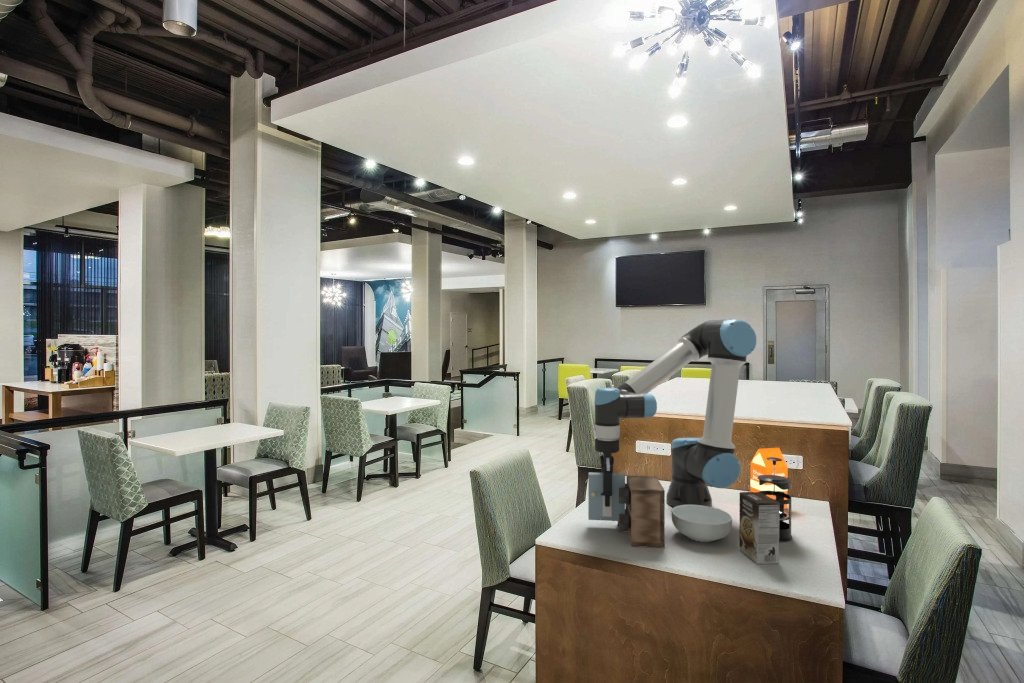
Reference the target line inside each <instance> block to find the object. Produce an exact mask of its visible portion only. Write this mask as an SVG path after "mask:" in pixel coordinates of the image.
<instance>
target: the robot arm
mask: <svg viewBox="0 0 1024 683" xmlns="http://www.w3.org/2000/svg"><path fill="white" fill-rule="evenodd" d="M756 346H757V335H756V332H755V330H754V328H753V327H752V325H751V324H750V323H748V322H747V321H744V320H742V319H736V318H733V319H732V318H728V319H712V320H707V321H704V322H702V323H700V324H698V325H696V326H695V327H693V328H692V329H690V330H689V331H688V332H686V333H685V334H684V335H682V336H681V337H680V338H678V340H677V343H676V344H675V345H674V346H672V347H671V348H670V349H669V350H667V351H665V352H664V353H662V355H660V356H659V357H658V358H656V359H655V360H653V361H652V362H650V363H649V364H648V365H646V366H645V367H644V368H642V369H641V370H640V371H637V373H636V374H635V375H632V377H630V378H629V379H628V380H626V381H625V382H623V383H622V384H620V385H619V386H618V387H599V388H597V389H596V390H595V391H594V392H595V393H594V402H593V403H594V427H592V431H594V437H595V439H594V450H595V452H598V453H602V455H600V456H599V461H600V470H601V473H603V493H601V495H602V496H603V509H602V516H605V517H612V473H614V464H615V459H614V456H613V455H612V454H616V453H619V451H620V439H619V438H620V437H621V436H620V432H621V431H620V430H621V429H620V428H621V427H620V425H621V422H620V420H621V419H647V418H653V417H654V416H655V415H656V413H657V411H658V410H657V409H658V403H657V399H656V397H655V396H654V395H653V394H652V393H650V392H652V391H653V390H654V389H656V388H657V387H658V386H660V385H661V384H663V383H664V382H665V381H666V380H668V379H669V378H671V377H672V376H674V375H675V374H677V372H678V371H680V370H682V369H683V368H684V367H685V366H686V365H688V364H690V362H692V361H693V362H697V361H698V360H700V359H701V358H703V357H705V356H707V360H708V361H709V362H710V364H711V369H710V375H709V376H710V377H709V384H708V393H707V399H706V408H705V415H704V417H705V418H704V423H703V433H702V436H701V437H678V438H675V439H673V440H672V441H671V447H670V448H671V449H670V450H671V481H670V484H669V486H668V489H667V492H666V496H665V498H666V503H667V505H669V506H671V507H673V508H674V507H676V506H680V505H702V506H708V507H713V499H712V495H711V493H710V490H709V487H714V488H717V489H727V488H729V487H731V486H732V485H733V484H734V483H735V482H736V481H738V479H739V477H740V476H741V475H740V474H741V470H742V466H741V462H740V460H739V459H738V457H737V456H736V455H735V453H736V445H735V444H734V443H733V442H732V436H733V428H734V420H735V411H736V402H737V395H738V389H739V387H738V386H739V378H740V370H741V367H742V366H744V365H745V364H746V363H747V357H748V356H749V355H751V354H752V352H753V351H754V350H755V348H756Z"/></svg>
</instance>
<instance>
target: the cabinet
mask: <svg viewBox="0 0 1024 683" xmlns="http://www.w3.org/2000/svg"><path fill="white" fill-rule="evenodd" d="M665 491H666V490H665V489H664V487H663V486H662V484H661V482H660V480H659V479H658V477H657V476H645V475H643V476H642V475H641V476H640V475H638V476H637V475H627V476H626V483H625V488H619V503H621V504H625V514H619V521H617V526H618V525H619V526H618V531H619V532H622V531H628V532H627V533H628V534H629V535H628V534H627V535H628V538H629V541H630V546H631V547H639V546H649V547H648V548H661V547H665V546H666V545H665V538H666V537H665V532H666V530H665V520H666V519H665V518H666V517H665V516H666V515H665V509H666V507H665V498H666V496H665V495H666V494H665Z"/></svg>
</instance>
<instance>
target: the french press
mask: <svg viewBox="0 0 1024 683" xmlns="http://www.w3.org/2000/svg"><path fill="white" fill-rule="evenodd" d="M766 459H767V460H770V461H773V465H774V475H759V476H758V479H759V485H763V484H764V483H772V484H774V491H759V492H761V493H763V494H765V495H774V500H776V501H777V502H779V503H780V518H779V543H781V542H783V543H784V542H789V541H792V539H793V536H792V496H791V495H790V494H788V493H787V494H786V493H784V492H782V491H775V485H776V486H777V487H779V488H780V489H782V490H787V489H788V490H789V489H791V488H790V487H791V486H790V484H791V483H792V479H791V478H789V477H788V478H786V477H783V476H778V475H775V465H776V461H782V459H780V458H776V457H768V458H766ZM775 496H776V499H775ZM784 498H787V499H786V500H784ZM784 504H787V505H788V512H785V508H784ZM787 521H788V522H787Z"/></svg>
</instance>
